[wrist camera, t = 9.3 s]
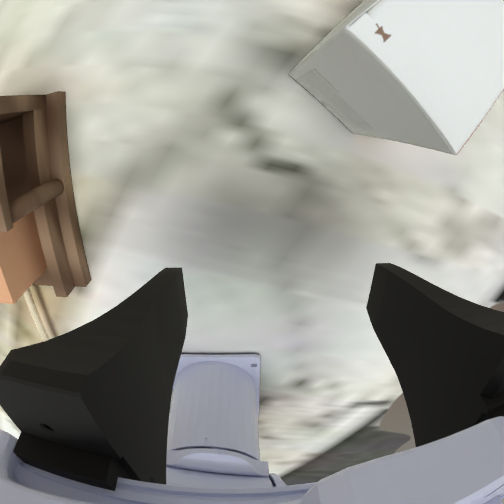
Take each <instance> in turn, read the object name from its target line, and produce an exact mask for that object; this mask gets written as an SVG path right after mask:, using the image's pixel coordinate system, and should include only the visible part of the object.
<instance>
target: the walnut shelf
mask: <svg viewBox="0 0 504 504" xmlns="http://www.w3.org/2000/svg"><path fill="white" fill-rule="evenodd" d="M32 211H34V214H35V219H36V224H37V228H38V233H39V237H40V241H41V245H42V249H43V253H44V257H45V261H46V264H47V269H46V270H45V271H44V272H43V274H42V275H41V276H40V277H39V278H38V279H37V280H36V281H35V282H34V283H33V284H32V285H51V286H53V287H54V290H55V294H56V296H57V297H67V296H68V295H69V294H70V292H71V291H72V290H73V289H74V287H75V286H80V287H86V286H87V285H88V283H89V282H90V281H91V278H90V274H89V270H88V266H87V262H86V258H85V253H84V249H83V244H82V239H81V234H80V229H79V224H78V219H77V213H76V207H75V201H74V195H73V188H72V180H71V172H70V164H69V154H68V142H67V128H66V106H65V92H54V93H51V94H47V95H16V96H0V233H1V232H8V231H9V230H11V229H12V228H14V227H13V223H15V222H16V221H18V220H19V219H21V218H23V217H24V216H26V215H27V214H29V213H31V212H32Z"/></svg>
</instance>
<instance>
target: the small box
mask: <svg viewBox="0 0 504 504" xmlns="http://www.w3.org/2000/svg"><path fill="white" fill-rule="evenodd" d="M289 75H290V76H291V77H292V78H294V79H295V80H296V81H297V82H298V83H300V84H301V85H302V86H303V87H304V88H305V89H306V90H308V91H309V92H310V93H311V94H312V95H313V96H314V97H315V98H316V99H318V100H319V101H320V102H321V103H322V104H323V105H324V106H325V107H326V108H327V109H328V110H329V111H330V112H331V113H333V114H334V115H335V116H336V117H337V118H338V119H339V120H340V121H341V122H342V123H343V124H344V125H345V126H346V127H347V128H348V129H349V130H350V131H351V132H352V133H354V134H360V135H366V136H372V137H377V138H383V139H388V140H393V141H398V142H403V143H407V144H412V145H416V146H420V147H424V148H429V149H433V150H437V151H441V152H445V153H449V154H453V155H457V154H458V153H459V152H460V150H461V149H462V147H463V146H464V145H465V143H466V142H467V141H468V140H469V138H470V137H471V136H472V134H473V133H474V131H475V130H476V129H477V127H478V126H479V125H480V123H481V122H482V120H483V119H484V118H485V116H486V115H487V113H488V112H489V111H490V109H491V107H492V106H493V105H494V103H495V102H496V100H497V99H498V97H499V96H500V94H501V93H502V91H503V90H504V1H503V0H365V1H363V2H362V3H361V4H360V5H359V6H358V7H357V8H356V9H354V10H353V11H352V12H351V13H350V14H349V15H348V16H347V17H346V18H345V19H343V20H342V21H341V22H340V23H339V24H338V25H337V26H336V27H335V28H334V29H333V30H332V31H331V32H330V33H329V34H328V35H326V36H325V37H324V38H323V39H322V40H321V41H320V42H319V43H318V44H317V45H316V46H315V47H314V48H313V49H312V50H311V51H310V52H309V53H308V54H307V55H306V56H305V57H304V58H303V59H302V60H301V61H300V62H299V63H298V64H297V65H296V66H295V67H294V68H293V70H292V71H291V72H290V73H289Z"/></svg>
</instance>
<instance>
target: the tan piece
mask: <svg viewBox="0 0 504 504" xmlns="http://www.w3.org/2000/svg"><path fill="white" fill-rule="evenodd" d="M13 227H14V228H12V229H11V230H9V231H8V232H1V233H0V303H8V304H14V303H15V302H16V301H17V300H18V299H19V298H20V297H21V296H22V295H24V297H25V300H26V303H27V305H28V308H29V310H30V313H31V315H32V318H33V320H34V323H35V325H36V327H37V329H38V332H39V334H40V336H41V338H42V341H43V342H44V341H47V340H50V339H49V337H48V335H47V333H46V330H45V328H44V326H43V323H42V321H41V318H40V316H39V313H38V311H37V308H36V306H35V303H34V300H33V297H32V295H31V292H30V289H29V287H30V286H31V285H32V284H33V283H34V282H35V281H36V280H37V279H38V278H39V277H40V276H41V275H42V274H43V272H44V271H45V270H46V269H47V264H46V261H45V257H44V253H43V249H42V245H41V241H40V237H39V233H38V228H37V224H36V219H35V214H34V211H32V212H31V213H29V214H27V215H26V216H24V217H23V218H21V219H19V220H18V221H16V222H15V223H13Z"/></svg>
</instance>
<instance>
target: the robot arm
mask: <svg viewBox="0 0 504 504" xmlns="http://www.w3.org/2000/svg"><path fill="white" fill-rule="evenodd" d="M366 308H367V311H368V314H369V318H370V321H371V323H372V326H373V329H374V331H375V333H376V335H377V337H378V339H379V341H380V343H381V344H382V346H383V348H384V350H385V352H386V354H387V356H388V358H389V360H390V362H391V364H392V366H393V368H394V370H395V372H396V374H397V377H398V379H399V382H400V385H401V388H402V391H403V394H404V397H405V400H406V404H407V407H408V411H409V415H410V418H411V423H412V428H413V433H414V438H415V443H416V448H413V449H409V450H406V451H402V452H399V453H395V454H392V455H388V456H384V457H380V458H377V459H374V460H371V461H368V462H365V463H361V464H358V465H355V466H351V467H348V468H346V469H344V470H341V471H339V472H337V473H335V474H333V475H330V476H328V477H326V478H323V479H321V480H320V481H319V482H315V483H308V484H299V485H290V486H286V484H285V483H284V482H283V481H282V479H281V478H280V477H279V476H278V475H276V474H269V469H268V462H266V461H260V449H259V435H258V421H257V418H258V417H259V391H260V356H259V355H257V354H238V355H196V354H181V352H182V348H183V344H184V340H185V335H186V327H187V318H188V312H187V305H186V297H185V289H184V281H183V273H182V268H165V269H163V270H162V271H161V272H159V273H158V274H157V275H156V276H154V277H153V278H152V279H151V280H150V281H148V282H147V283H146V284H145V285H144V286H142V287H141V288H140V289H139V290H137V291H136V292H135V293H134V294H132V295H131V296H130V297H128V298H127V299H125V300H124V301H123V302H121V303H120V304H119V305H117V306H116V307H114V308H113V309H111V310H110V311H108V312H107V313H105V314H103V315H102V316H100V317H98V318H97V319H95V320H93V321H91V322H89V323H87V324H85V325H83V326H81V327H79V328H77V329H75V330H73V331H70V332H68V333H66V334H63V335H61V336H58V337H55V338H53V339H50V340H47V341H44V342H41V343H37V344H34V345H30V346H26V347H22V348H18V349H14V350H11V351H10V352H9V354H8V355H7V357H6V358H5V360H4V361H3V363H2V364H1V366H0V405H1V407H2V408H3V409H4V411H5V412H6V413H7V414H8V416H9V417H10V418H11V420H12V421H13V422H14V423H15V424H16V426H17V427H18V428H19V429H20V430H21V434H20V437H19V439H17V438H15V437H14V436H12V435H11V434H9V433H7V432H5V431H3V430H0V504H503V503H502V501H501V499H503V498H504V312H500V311H497V310H493V309H490V308H487V307H484V306H481V305H478V304H475V303H473V302H470V301H468V300H465V299H463V298H460V297H458V296H456V295H454V294H452V293H449V292H447V291H445V290H443V289H441V288H439V287H437V286H435V285H433V284H432V283H430V282H428V281H426V280H424V279H422V278H420V277H418V276H416V275H415V274H413V273H411V272H409V271H407V270H405V269H403V268H401V267H398V266H396V265H394V264H391V263H380V264H376V266H375V271H374V276H373V280H372V285H371V290H370V294H369V299H368V303H367V307H366ZM253 363H256V364H253ZM172 389H173V392H174V393H173V399H172V404H171V410H170V403H171V394H172ZM169 412H170V416H169Z"/></svg>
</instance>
